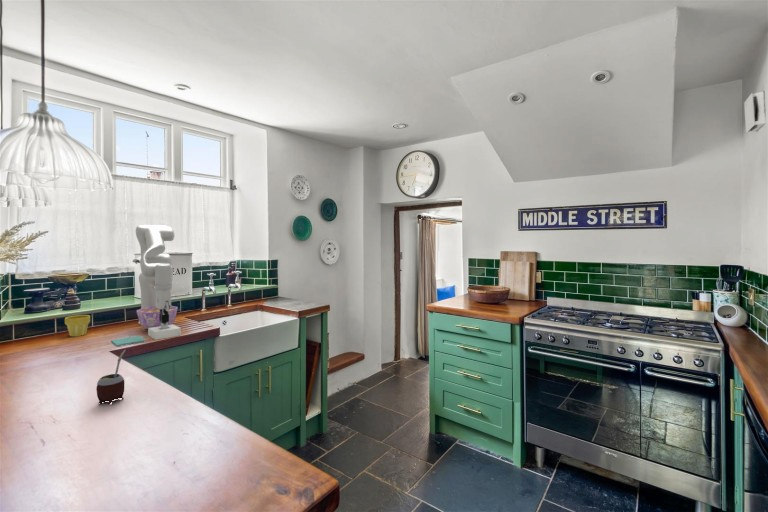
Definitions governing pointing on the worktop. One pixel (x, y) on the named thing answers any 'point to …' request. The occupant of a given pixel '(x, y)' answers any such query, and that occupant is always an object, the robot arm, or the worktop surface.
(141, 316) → the bowl of food
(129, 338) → the mat
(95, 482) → the worktop surface
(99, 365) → the worktop surface
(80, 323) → the plant pot
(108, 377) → the mate gourd
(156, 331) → the eye block
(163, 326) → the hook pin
